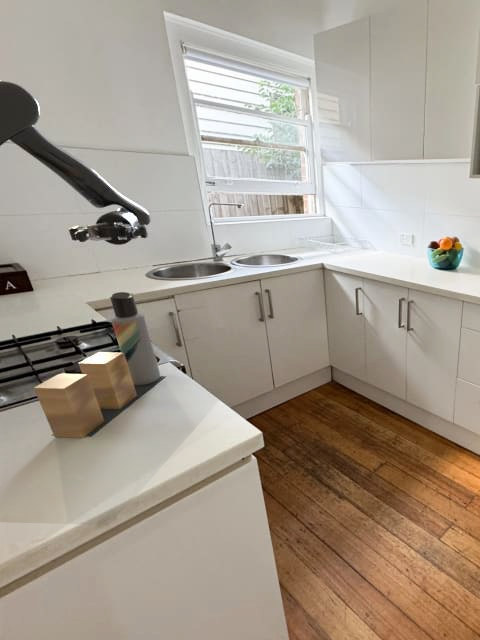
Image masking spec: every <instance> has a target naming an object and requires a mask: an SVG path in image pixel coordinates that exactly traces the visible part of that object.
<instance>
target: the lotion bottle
mask: <svg viewBox="0 0 480 640" xmlns="http://www.w3.org/2000/svg"><path fill="white" fill-rule="evenodd" d="M109 300H110V302H111V305H112V309H113V312H114V316H113V317H111V319H110V321H111V324H112V328H113V331H114V334H115V338H116V340H117V343H118V347H119V350H120V353H124V355H125V358H126V361H127V365H128V368H129V371H130V374H131V378H132V381H133V384H134V385H146V384H150V383H153V382H155V381H157V380H158V379H159V378H160V376H161V372H160V368H159V363H158V360H157V357H156V352H155V349H154V346H153V343H152V339H151V335H150V331H149V327H148V324H147V321H146V318H145V315H144V313H143V312H139V311H138V307H137V304H136V300H135V297H134V294H133V293H132V292H127V291H123V292H122V291H120V292H118V291H117V292H114V293H112V295H111V296H110V297H109Z"/></svg>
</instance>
